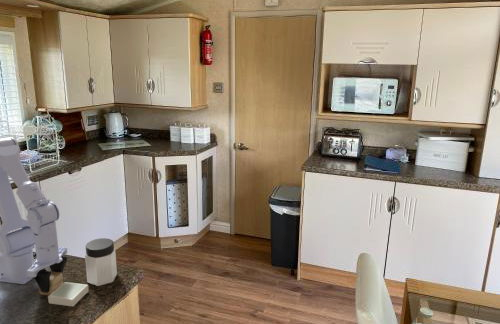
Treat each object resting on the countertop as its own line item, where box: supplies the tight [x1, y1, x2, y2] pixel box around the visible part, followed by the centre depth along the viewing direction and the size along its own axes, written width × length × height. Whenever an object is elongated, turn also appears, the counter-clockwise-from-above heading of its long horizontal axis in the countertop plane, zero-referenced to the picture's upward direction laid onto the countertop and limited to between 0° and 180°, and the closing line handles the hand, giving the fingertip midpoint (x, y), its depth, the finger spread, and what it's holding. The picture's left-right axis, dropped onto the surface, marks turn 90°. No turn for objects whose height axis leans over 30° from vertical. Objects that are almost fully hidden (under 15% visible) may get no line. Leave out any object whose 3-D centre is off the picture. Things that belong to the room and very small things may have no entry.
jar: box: [84, 237, 118, 287], centre depth 117 cm, size 9×8×12 cm
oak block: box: [38, 270, 64, 296], centre depth 110 cm, size 4×4×5 cm
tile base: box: [47, 281, 89, 307], centre depth 108 cm, size 8×8×2 cm
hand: (51, 286), depth 111 cm, fingers open, 5 cm apart
